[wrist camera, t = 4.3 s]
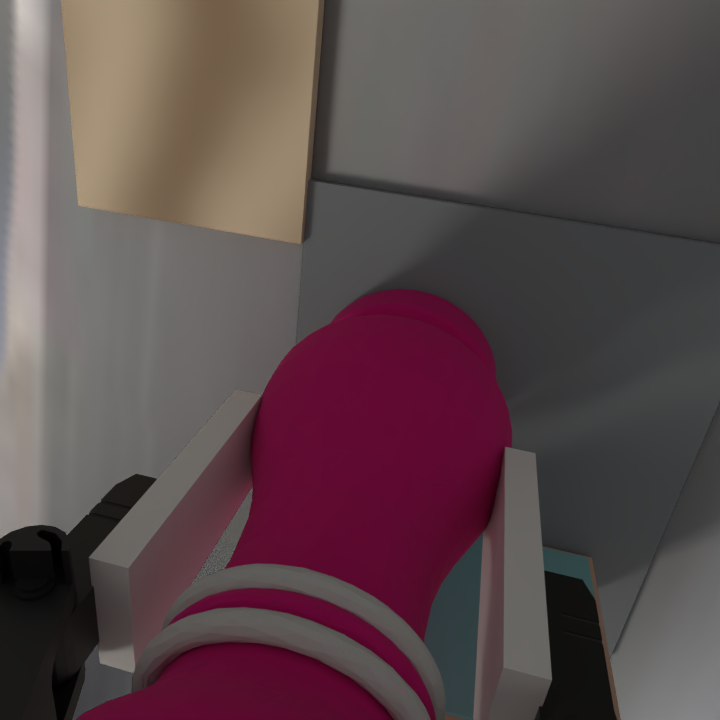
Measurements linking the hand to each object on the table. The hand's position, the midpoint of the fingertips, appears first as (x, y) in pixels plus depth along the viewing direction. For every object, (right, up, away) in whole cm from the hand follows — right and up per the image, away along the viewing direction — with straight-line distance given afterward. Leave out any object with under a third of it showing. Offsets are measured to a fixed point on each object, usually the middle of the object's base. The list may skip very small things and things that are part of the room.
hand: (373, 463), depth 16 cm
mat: (+4, 0, +6) cm, 7 cm away
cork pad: (-6, +11, +3) cm, 13 cm away
